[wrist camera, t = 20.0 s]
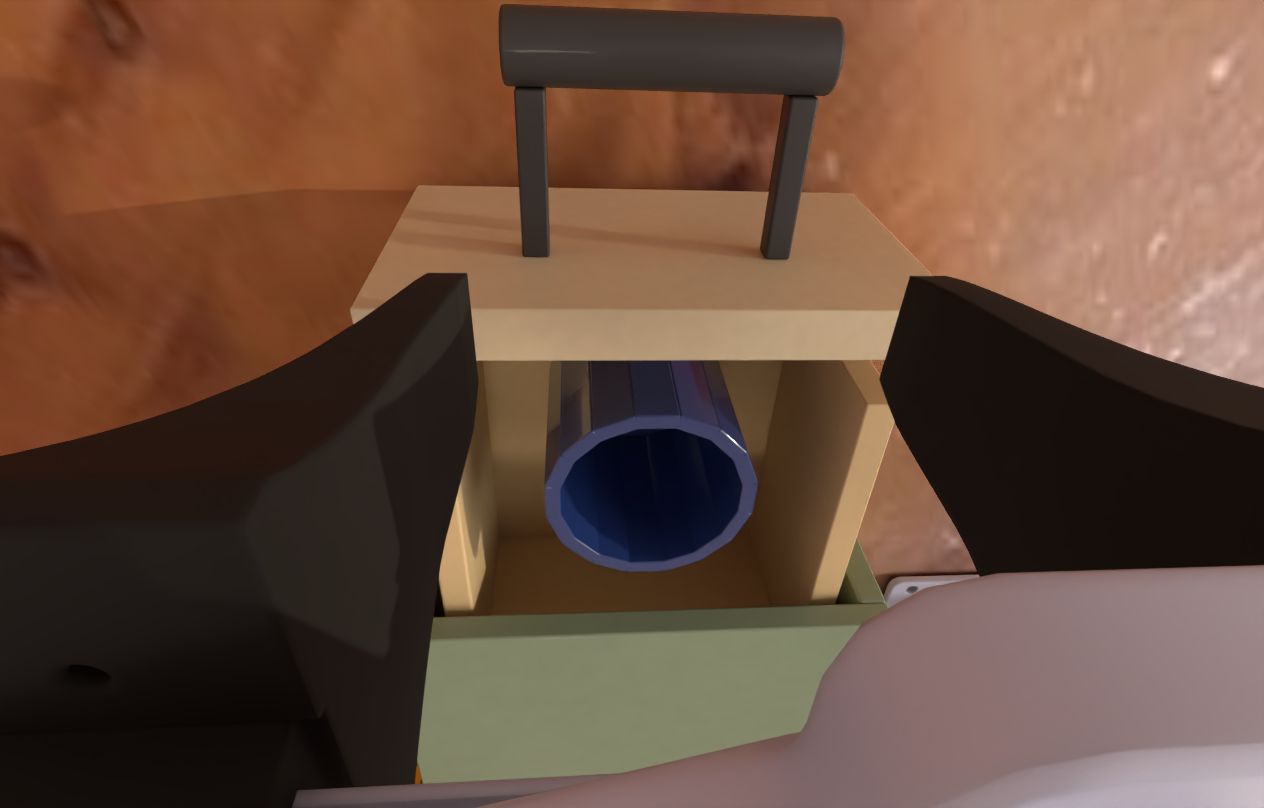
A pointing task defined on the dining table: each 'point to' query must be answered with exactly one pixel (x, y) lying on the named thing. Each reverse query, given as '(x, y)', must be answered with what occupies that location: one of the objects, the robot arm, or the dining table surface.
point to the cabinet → (625, 683)
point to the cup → (644, 462)
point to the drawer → (664, 314)
